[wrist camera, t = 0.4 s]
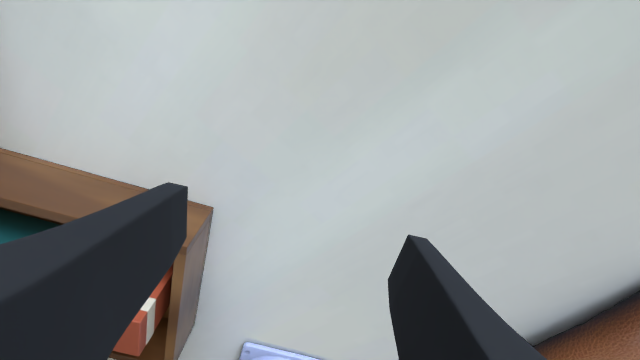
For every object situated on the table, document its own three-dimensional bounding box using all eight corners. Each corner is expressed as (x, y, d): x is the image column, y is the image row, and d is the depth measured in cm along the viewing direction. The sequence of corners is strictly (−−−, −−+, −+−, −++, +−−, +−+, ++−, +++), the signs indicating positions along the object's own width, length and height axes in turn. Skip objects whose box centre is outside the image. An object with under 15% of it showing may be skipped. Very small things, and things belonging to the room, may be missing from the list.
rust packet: (180, 288, 25) (139, 357, 20) (125, 274, 25) (69, 341, 20) (184, 256, 23) (140, 323, 18) (125, 240, 23) (63, 304, 18)
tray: (194, 324, 28) (171, 372, 24) (7, 278, 26) (-49, 321, 23) (213, 207, 22) (187, 247, 18) (-30, 139, 20) (-115, 167, 16)
